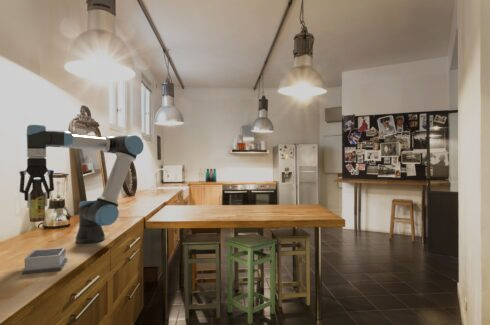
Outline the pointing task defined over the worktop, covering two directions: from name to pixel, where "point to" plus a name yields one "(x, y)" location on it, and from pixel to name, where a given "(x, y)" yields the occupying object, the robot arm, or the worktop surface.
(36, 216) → the sauce bottle
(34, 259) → the open gray square box
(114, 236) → the worktop surface
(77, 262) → the worktop surface
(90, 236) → the robot arm
